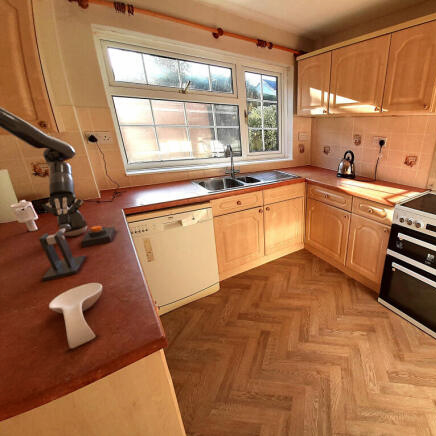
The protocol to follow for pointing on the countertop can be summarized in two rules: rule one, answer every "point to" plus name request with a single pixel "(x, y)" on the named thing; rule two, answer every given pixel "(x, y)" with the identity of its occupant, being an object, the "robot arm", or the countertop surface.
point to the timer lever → (63, 228)
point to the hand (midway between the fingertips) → (64, 224)
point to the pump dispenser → (75, 224)
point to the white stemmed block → (25, 214)
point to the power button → (96, 228)
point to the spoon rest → (77, 311)
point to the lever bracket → (59, 266)
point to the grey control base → (98, 236)
